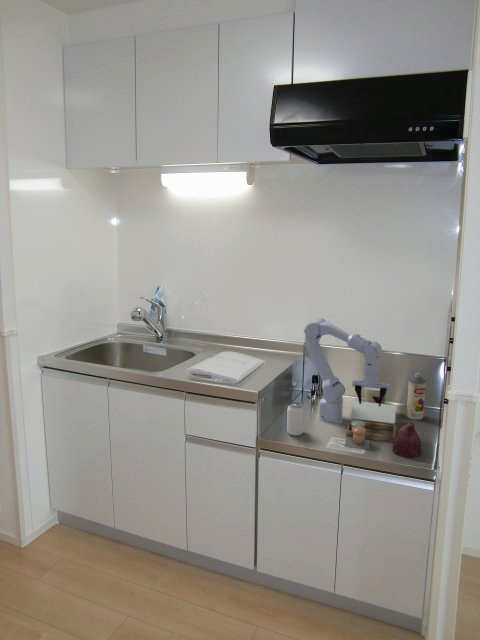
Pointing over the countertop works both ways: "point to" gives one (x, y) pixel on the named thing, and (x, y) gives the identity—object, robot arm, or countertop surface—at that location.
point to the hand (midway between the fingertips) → (369, 404)
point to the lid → (373, 412)
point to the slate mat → (350, 444)
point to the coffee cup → (373, 395)
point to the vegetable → (407, 442)
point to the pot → (359, 435)
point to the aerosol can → (416, 397)
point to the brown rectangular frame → (375, 431)
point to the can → (295, 419)
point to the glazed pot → (357, 424)
